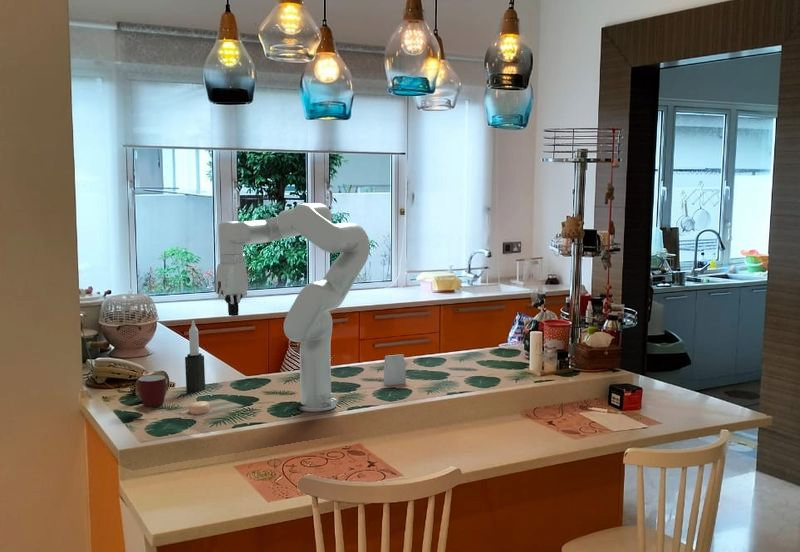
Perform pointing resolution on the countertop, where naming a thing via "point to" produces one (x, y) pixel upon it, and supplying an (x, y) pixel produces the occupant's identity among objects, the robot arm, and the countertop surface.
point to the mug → (152, 390)
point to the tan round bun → (199, 407)
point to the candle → (194, 364)
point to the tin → (150, 375)
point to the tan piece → (212, 408)
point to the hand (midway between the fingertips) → (233, 315)
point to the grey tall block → (394, 370)
